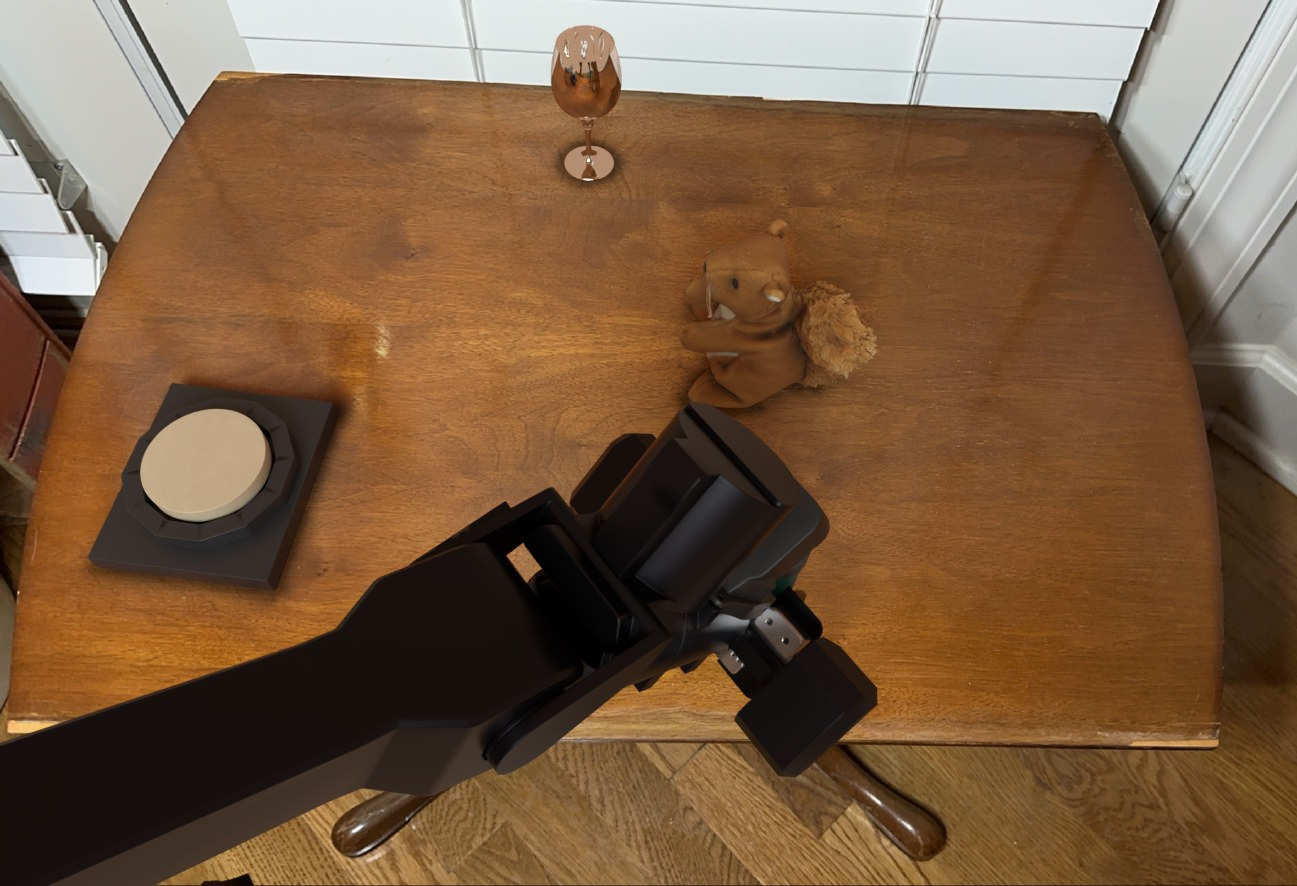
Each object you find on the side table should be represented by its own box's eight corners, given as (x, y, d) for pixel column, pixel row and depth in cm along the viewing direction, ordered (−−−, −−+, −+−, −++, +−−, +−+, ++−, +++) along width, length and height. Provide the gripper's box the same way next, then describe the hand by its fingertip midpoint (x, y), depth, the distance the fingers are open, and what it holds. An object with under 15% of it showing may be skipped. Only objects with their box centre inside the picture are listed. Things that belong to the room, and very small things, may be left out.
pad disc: (248, 529, 60) (240, 520, 58) (129, 514, 60) (119, 504, 59) (288, 426, 64) (282, 415, 63) (176, 412, 64) (168, 401, 63)
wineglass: (620, 187, 80) (620, 68, 70) (554, 185, 80) (545, 66, 70) (622, 142, 83) (622, 22, 73) (559, 140, 83) (550, 19, 73)
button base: (275, 590, 60) (259, 572, 58) (98, 567, 61) (75, 548, 58) (338, 414, 67) (327, 391, 65) (180, 394, 68) (163, 370, 65)
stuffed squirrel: (686, 301, 74) (698, 176, 63) (861, 330, 73) (905, 208, 62) (664, 402, 69) (673, 286, 58) (852, 435, 68) (899, 322, 56)
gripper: (903, 665, 34) (997, 605, 47) (610, 343, 42) (761, 368, 55) (721, 833, 38) (854, 735, 52) (484, 512, 46) (653, 498, 59)
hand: (779, 575), depth 54 cm, fingers closed on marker, 3 cm apart
